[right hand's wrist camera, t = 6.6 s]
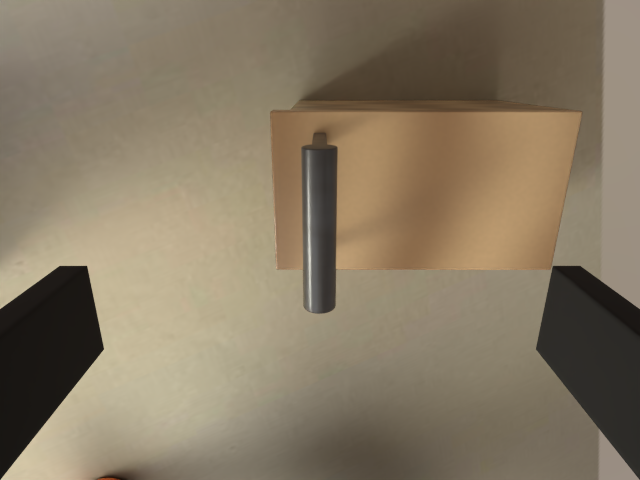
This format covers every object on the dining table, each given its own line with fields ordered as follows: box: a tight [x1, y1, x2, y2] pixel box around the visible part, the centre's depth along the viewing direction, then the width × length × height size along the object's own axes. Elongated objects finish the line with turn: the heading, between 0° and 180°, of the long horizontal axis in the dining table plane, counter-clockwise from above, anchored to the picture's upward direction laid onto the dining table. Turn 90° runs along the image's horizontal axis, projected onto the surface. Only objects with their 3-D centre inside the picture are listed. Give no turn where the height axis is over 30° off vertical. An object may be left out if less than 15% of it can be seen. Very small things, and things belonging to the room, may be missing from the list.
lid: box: [270, 110, 582, 313], centre depth 22 cm, size 17×9×8 cm, turn 90°
